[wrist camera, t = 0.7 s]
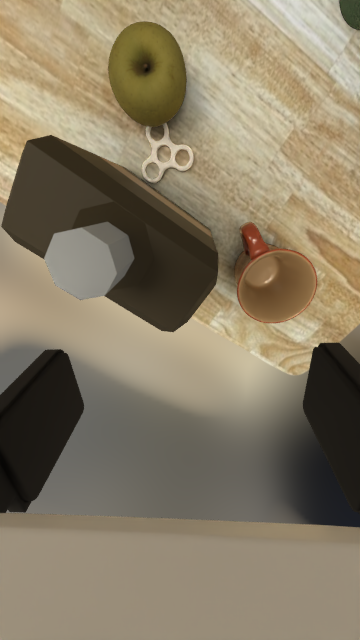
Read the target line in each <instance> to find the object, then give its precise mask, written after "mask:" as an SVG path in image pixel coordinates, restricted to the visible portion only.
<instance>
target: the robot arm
mask: <svg viewBox="0 0 360 640" xmlns="http://www.w3.org/2000/svg"><path fill="white" fill-rule="evenodd" d="M303 409H304V412H305V415H306V417H307V419H308V421H309V423H310V425H311V427H312V429H313V431H314V433H315V435H316V437H317V439H318V441H319V443H320V446H321V448H322V450H323V452H324V454H325V456H326V458H327V460H328V462H329V464H330V466H331V468H332V470H333V472H334V474H335V476H336V478H337V480H338V483H339V484H340V487H341V489H342V491H343V493H344V495H345V497H346V499H347V501H348V503H349V505H350V507H351V508H352V509H353V511H355V512H359V514H360V364H359V363H358V362H357V361H356V360H355V359H354V358H353V357H352V356H351V355H350V354H349V352H348V351H347V350H346V349H345V348H344V347H343V346H342V345H341V344H340V343H320V344H319V346H318V347H315V348H314V349H313V353H312V358H311V364H310V369H309V374H308V379H307V384H306V390H305V395H304V400H303ZM83 410H84V403H83V400H82V397H81V393H80V391H79V387H78V384H77V381H76V378H75V375H74V372H73V369H72V365H71V363H70V360H69V356H68V354H67V353H64V351H63V350H61V349H60V350H45V351H44V352H43V353H42V354H41V355H40V356H39V357H38V358H37V359H36V360H35V361H34V362H33V363H32V364H31V365H30V366H29V367H28V368H27V369H26V370H25V371H24V372H23V373H22V374H21V375H20V376H19V377H18V378H17V379H16V380H15V381H14V382H13V383H12V384H11V385H10V386H9V387H8V388H7V389H6V390H5V391H4V392H3V393H2V394H1V395H0V640H360V528H357V527H342V526H326V525H306V524H305V525H304V524H284V523H261V522H260V523H259V522H238V521H216V520H192V519H167V518H141V517H113V516H86V515H57V514H27V513H6V511H7V509H8V510H9V511H10V512H26V511H27V509H28V507H29V505H30V503H31V501H33V500H35V499H36V498H37V497H38V495H39V493H40V492H41V490H42V488H43V486H44V484H45V482H46V480H47V479H48V477H49V475H50V473H51V471H52V469H53V467H54V465H55V463H56V461H57V460H58V458H59V456H60V454H61V452H62V451H63V449H64V447H65V445H66V443H67V441H68V439H69V437H70V436H71V434H72V432H73V430H74V428H75V426H76V424H77V423H78V421H79V419H80V417H81V415H82V413H83Z"/></svg>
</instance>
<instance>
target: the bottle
mask: <svg viewBox="0 0 360 640" xmlns="http://www.w3.org/2000/svg"><path fill="white" fill-rule="evenodd" d="M2 228H3V229H4V230H5V231H6V232H7V233H8V234H9V235H10V236H11V238H12V239H13V240H14V241H15V242H17V243H18V244H20V245H21V246H23V247H25V248H26V249H29V250H30V251H31V252H33V253H35V254H36V255H38V256H40V257H41V258H43V259H44V260H45V262H46V264H47V267H48V269H49V271H50V273H51V276H52V278H53V281H54V283H55V285H56V286H57V287H59V288H61V289H62V290H64V291H66V292H67V293H69V294H71V295H73V296H74V297H76V298H78V299H79V300H83V299H88V298H94V297H100V296H105V297H107V298H109V299H110V300H112V301H113V302H115V303H117V304H118V305H120V306H122V307H124V308H125V309H127V310H128V311H130V312H132V313H133V314H135V315H136V316H138V317H140V318H142V319H143V320H145V321H146V322H148V323H150V324H151V325H153V326H155V327H156V328H158V329H160V330H161V331H168V332H174V331H175V330H177V329H178V328H180V327H181V326H182V325H184V324H185V323H187V322H188V320H189V319H190V318H191V317H192V315H193V314H194V313H195V311H196V310H197V309H198V307H199V306H200V305H201V303H202V302H203V301H204V300H205V298H206V297H207V296H208V294H209V293H210V292H211V290H212V289H213V288H214V286H215V285H216V281H217V275H218V252H217V250H216V247H215V244H214V241H213V238H212V235H211V232H210V229H209V228H208V227H206V226H205V225H203V224H202V223H201V222H199V221H198V220H197V219H195V218H194V217H192V216H191V215H190V214H188V213H187V212H186V211H184V210H183V209H181V208H180V207H179V206H177V205H176V204H174V203H173V202H172V201H170V200H169V199H168V198H166V197H165V196H163V195H162V194H161V193H159V192H158V191H157V190H155V189H154V188H152V187H151V186H150V185H148V184H147V183H146V182H144V181H143V180H141V179H140V178H139V177H137V176H136V175H135V174H133V173H132V172H130V171H129V170H128V169H126V168H124V167H122V166H120V165H118V164H115V163H113V162H111V161H109V160H106V159H104V158H102V157H100V156H97V155H95V154H93V153H91V152H88V151H86V150H84V149H82V148H79V147H77V146H75V145H73V144H70V143H68V142H66V141H63V140H61V139H59V138H57V137H54V136H52V135H50V136H45V137H41V138H37V139H32V140H28V141H27V142H26V145H25V148H24V150H23V153H22V156H21V159H20V163H19V166H18V169H17V173H16V176H15V179H14V183H13V186H12V189H11V193H10V196H9V199H8V203H7V206H6V209H5V214H4V218H3V222H2Z"/></svg>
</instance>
